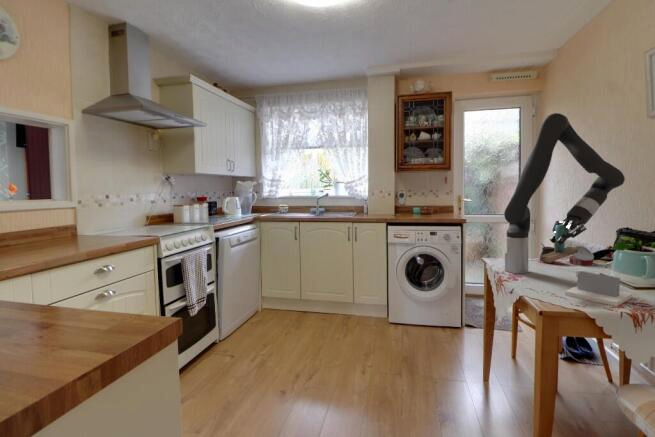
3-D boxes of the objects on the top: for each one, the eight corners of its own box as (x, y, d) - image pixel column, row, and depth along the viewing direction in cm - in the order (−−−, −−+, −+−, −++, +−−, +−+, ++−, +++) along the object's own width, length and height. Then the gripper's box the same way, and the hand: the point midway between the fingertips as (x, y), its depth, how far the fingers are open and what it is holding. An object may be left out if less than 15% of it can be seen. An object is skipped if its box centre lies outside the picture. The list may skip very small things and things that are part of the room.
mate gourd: (552, 264, 173) (552, 245, 172) (537, 262, 180) (536, 244, 179) (559, 262, 177) (559, 243, 176) (543, 260, 183) (543, 242, 182)
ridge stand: (564, 294, 131) (565, 274, 130) (581, 287, 138) (581, 268, 137) (616, 306, 117) (617, 283, 116) (632, 297, 124) (632, 276, 124)
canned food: (589, 271, 174) (601, 255, 170) (585, 273, 167) (597, 257, 163) (566, 258, 181) (578, 243, 177) (561, 260, 174) (573, 244, 170)
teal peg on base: (539, 261, 135) (540, 228, 133) (568, 251, 147) (569, 221, 146) (549, 262, 132) (550, 229, 130) (577, 252, 144) (578, 222, 143)
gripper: (563, 203, 145) (536, 233, 145) (592, 206, 131) (563, 239, 131) (574, 215, 146) (547, 245, 146) (604, 218, 132) (575, 251, 132)
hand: (555, 242), depth 138 cm, fingers closed on teal peg on base, 3 cm apart
